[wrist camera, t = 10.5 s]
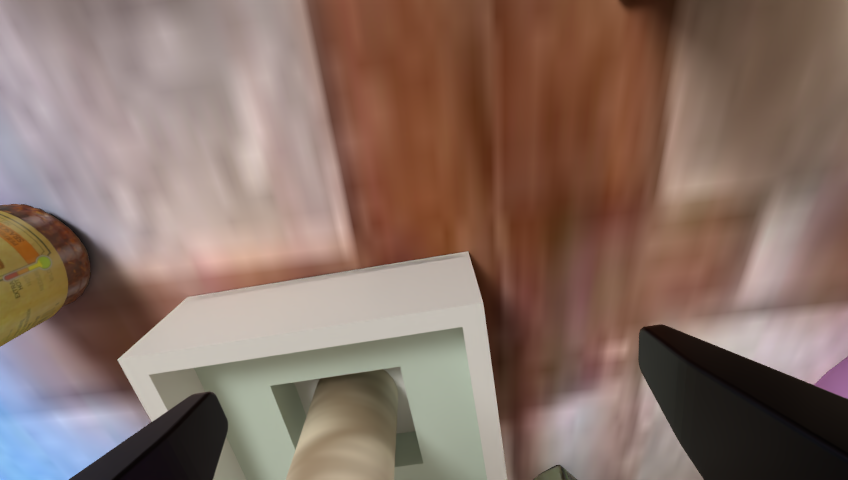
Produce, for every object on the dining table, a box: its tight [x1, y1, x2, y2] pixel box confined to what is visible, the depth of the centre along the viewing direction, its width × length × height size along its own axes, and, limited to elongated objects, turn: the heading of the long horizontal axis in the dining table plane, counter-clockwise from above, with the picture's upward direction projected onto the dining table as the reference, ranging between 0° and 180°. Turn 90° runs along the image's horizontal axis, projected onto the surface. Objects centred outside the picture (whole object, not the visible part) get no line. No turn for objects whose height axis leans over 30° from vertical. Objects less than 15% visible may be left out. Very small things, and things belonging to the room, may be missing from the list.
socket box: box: [117, 251, 507, 480], centre depth 22 cm, size 16×16×6 cm
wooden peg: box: [286, 369, 398, 480], centre depth 19 cm, size 5×5×10 cm
